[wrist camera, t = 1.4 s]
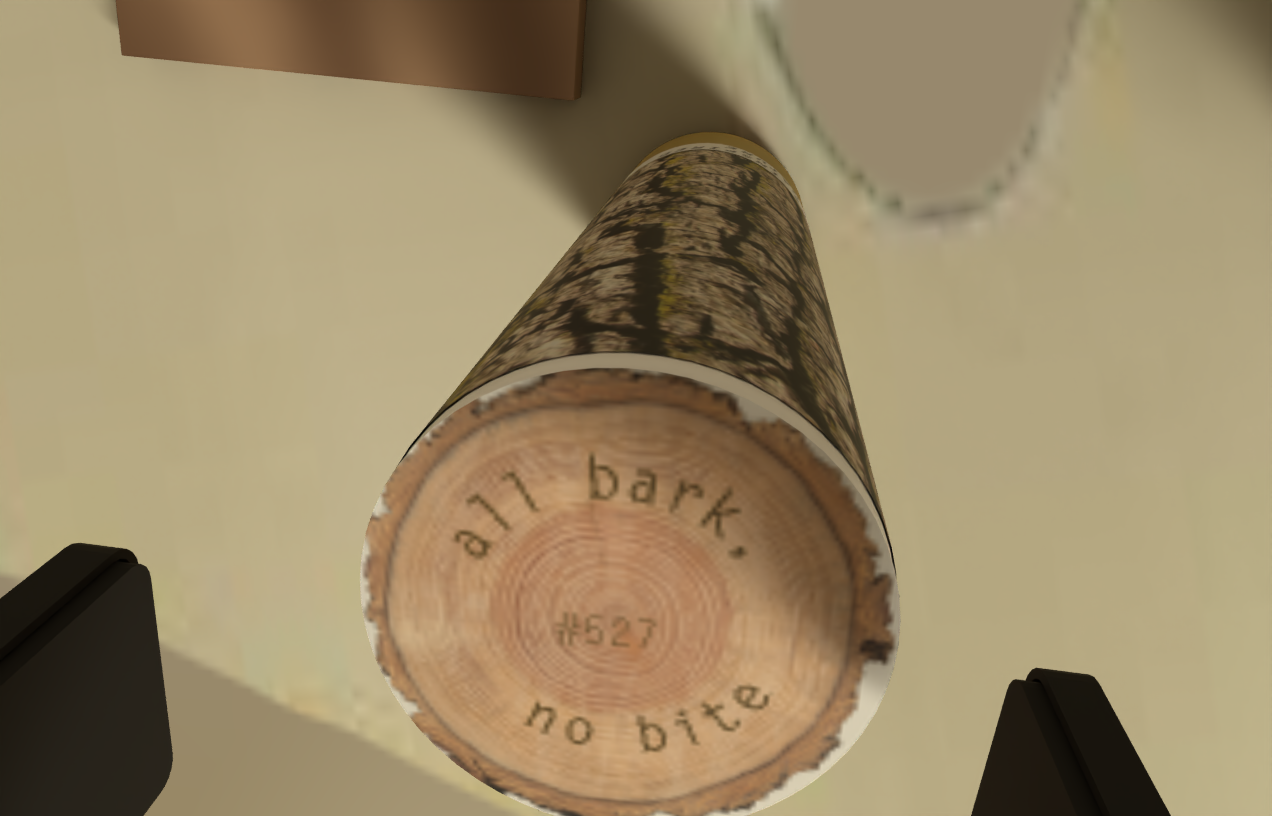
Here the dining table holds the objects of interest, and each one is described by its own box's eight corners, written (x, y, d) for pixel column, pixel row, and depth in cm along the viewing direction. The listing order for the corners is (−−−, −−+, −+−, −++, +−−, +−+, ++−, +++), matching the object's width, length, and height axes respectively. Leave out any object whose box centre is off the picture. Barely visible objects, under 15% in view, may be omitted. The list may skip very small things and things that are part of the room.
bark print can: (617, 125, 34) (331, 349, 11) (811, 131, 33) (938, 382, 10) (616, 311, 37) (381, 805, 14) (796, 319, 36) (870, 856, 13)
